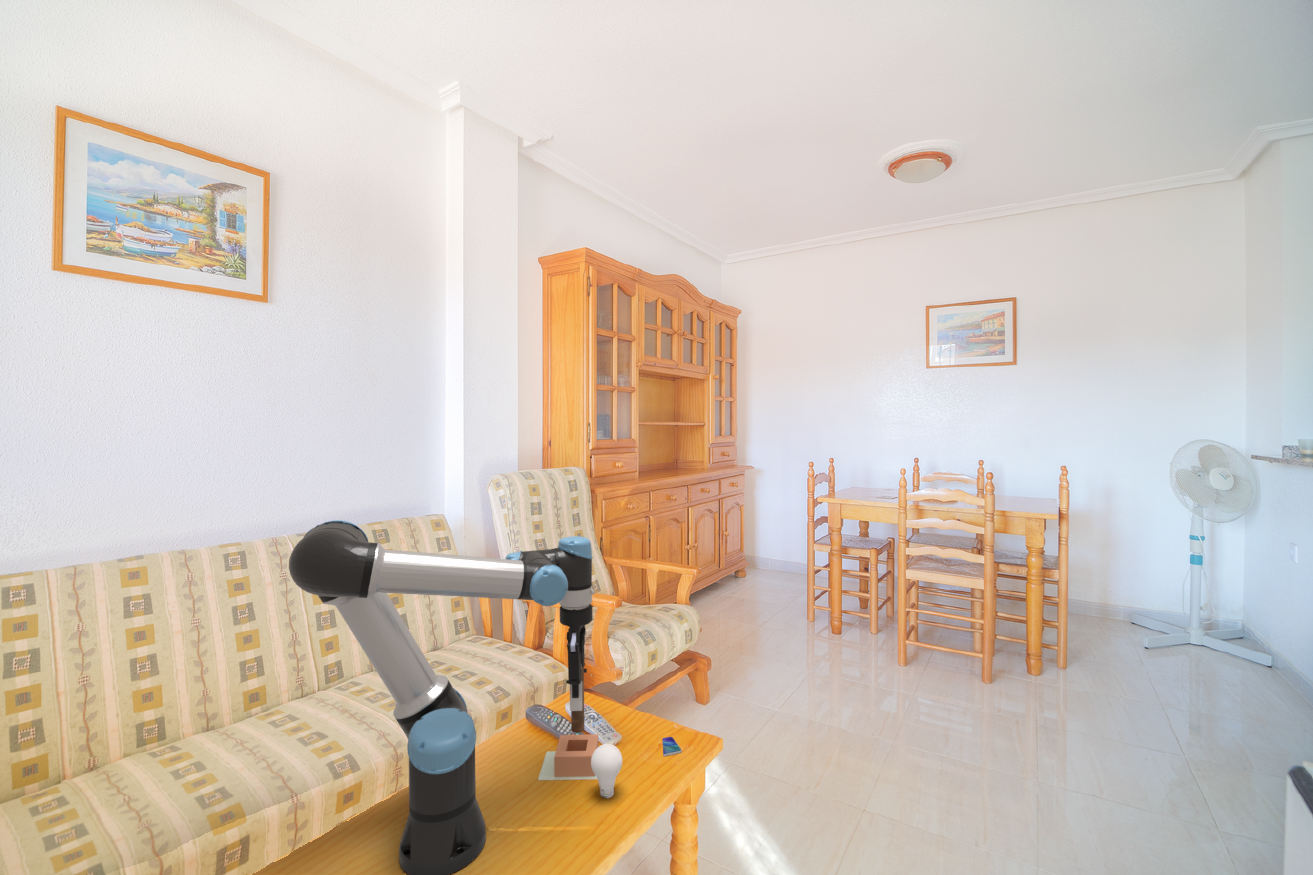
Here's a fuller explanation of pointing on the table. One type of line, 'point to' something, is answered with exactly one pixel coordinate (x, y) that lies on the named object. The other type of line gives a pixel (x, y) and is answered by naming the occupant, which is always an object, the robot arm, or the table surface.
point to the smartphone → (670, 747)
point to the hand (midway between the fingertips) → (577, 705)
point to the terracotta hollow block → (575, 755)
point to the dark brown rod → (578, 716)
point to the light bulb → (606, 767)
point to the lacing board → (548, 770)
